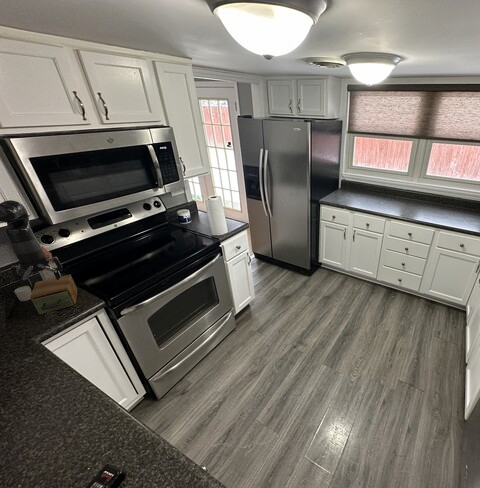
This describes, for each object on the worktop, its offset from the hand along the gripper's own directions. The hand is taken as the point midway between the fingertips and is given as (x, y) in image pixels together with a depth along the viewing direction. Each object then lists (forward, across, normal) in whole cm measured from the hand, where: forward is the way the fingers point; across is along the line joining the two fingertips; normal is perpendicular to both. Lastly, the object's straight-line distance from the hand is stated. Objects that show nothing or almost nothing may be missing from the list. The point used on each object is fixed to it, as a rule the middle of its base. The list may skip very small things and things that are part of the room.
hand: (44, 282), depth 115 cm
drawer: (+16, +1, -6) cm, 17 cm away
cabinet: (+17, 0, -12) cm, 20 cm away
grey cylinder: (+17, +12, -24) cm, 32 cm away
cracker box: (+17, +2, -30) cm, 34 cm away
